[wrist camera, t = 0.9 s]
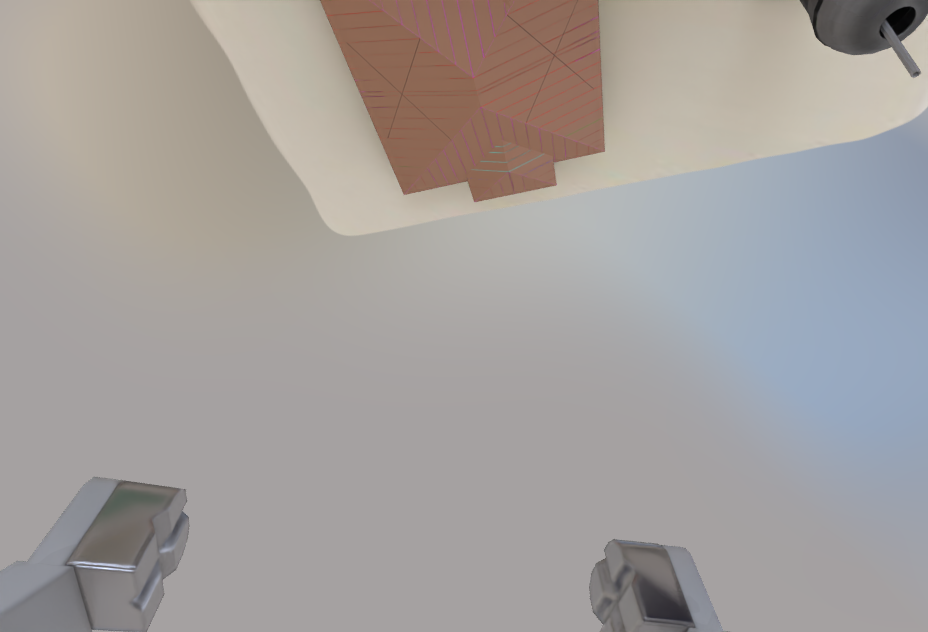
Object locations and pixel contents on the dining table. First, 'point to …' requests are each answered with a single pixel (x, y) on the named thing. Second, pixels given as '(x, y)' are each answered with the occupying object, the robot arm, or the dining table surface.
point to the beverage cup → (867, 25)
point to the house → (476, 87)
